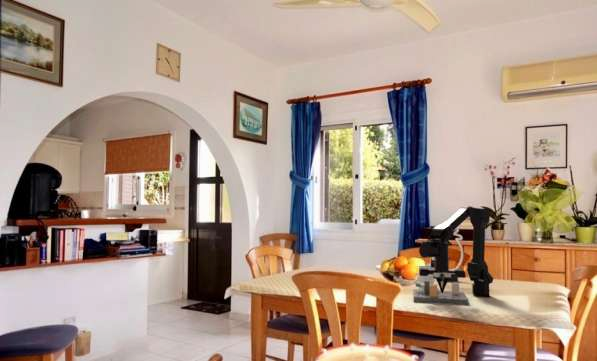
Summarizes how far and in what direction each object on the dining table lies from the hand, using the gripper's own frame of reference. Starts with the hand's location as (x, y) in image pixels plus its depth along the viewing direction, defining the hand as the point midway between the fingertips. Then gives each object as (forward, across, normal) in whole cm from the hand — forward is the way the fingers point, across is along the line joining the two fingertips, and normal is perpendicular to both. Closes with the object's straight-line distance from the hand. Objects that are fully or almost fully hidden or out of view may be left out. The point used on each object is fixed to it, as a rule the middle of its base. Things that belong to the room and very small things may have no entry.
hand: (442, 292), depth 186 cm
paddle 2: (+2, -6, -8) cm, 10 cm away
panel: (+4, +1, -4) cm, 6 cm away
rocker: (-1, +6, -8) cm, 10 cm away
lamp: (+4, -6, -52) cm, 53 cm away
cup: (+4, +6, -23) cm, 24 cm away
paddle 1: (+2, +4, 0) cm, 4 cm away
